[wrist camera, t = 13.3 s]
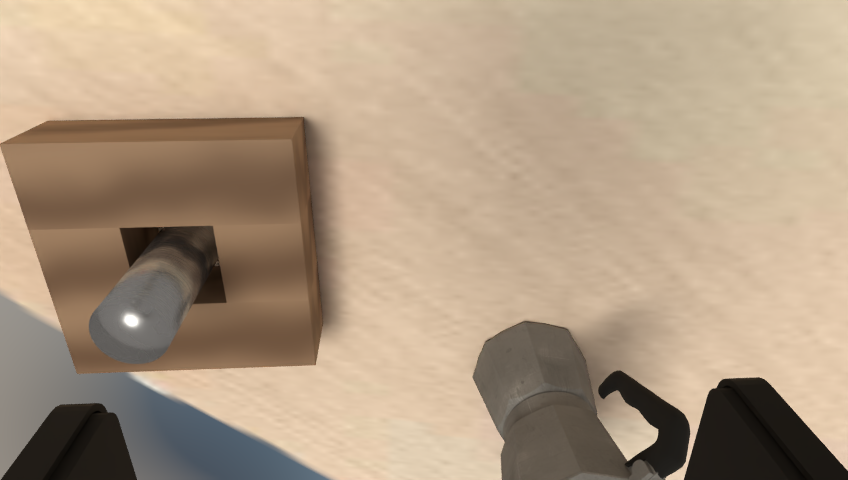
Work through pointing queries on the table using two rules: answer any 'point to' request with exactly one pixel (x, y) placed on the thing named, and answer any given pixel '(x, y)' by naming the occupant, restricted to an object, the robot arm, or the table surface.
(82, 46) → the table surface
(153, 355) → the peg
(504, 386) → the coffeepot
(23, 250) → the table surface
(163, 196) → the socket block
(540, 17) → the table surface
